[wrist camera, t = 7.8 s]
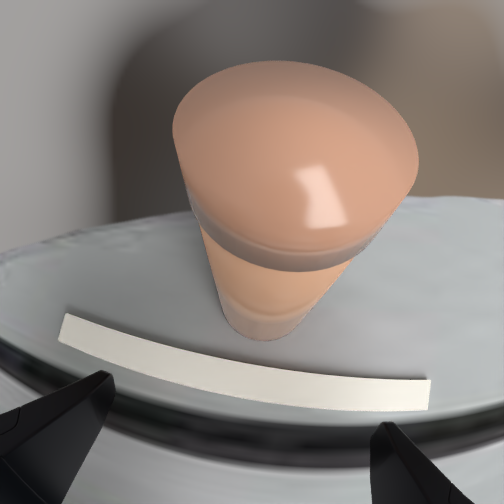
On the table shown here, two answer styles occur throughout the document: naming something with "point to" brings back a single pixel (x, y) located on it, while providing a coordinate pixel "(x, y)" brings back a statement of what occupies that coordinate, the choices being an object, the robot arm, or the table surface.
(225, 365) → the line
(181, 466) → the table surface
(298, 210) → the tumbler
